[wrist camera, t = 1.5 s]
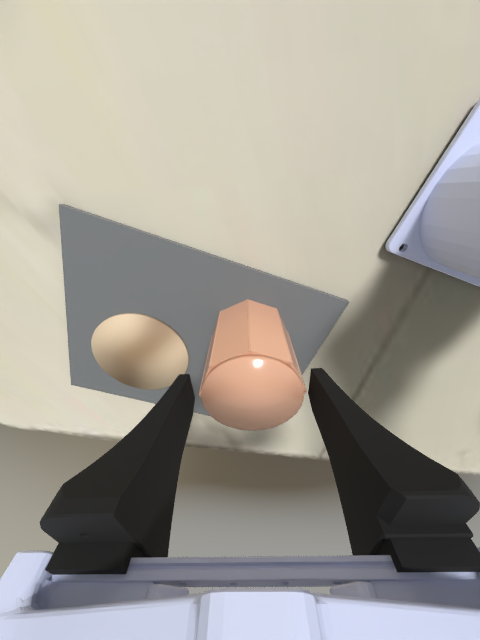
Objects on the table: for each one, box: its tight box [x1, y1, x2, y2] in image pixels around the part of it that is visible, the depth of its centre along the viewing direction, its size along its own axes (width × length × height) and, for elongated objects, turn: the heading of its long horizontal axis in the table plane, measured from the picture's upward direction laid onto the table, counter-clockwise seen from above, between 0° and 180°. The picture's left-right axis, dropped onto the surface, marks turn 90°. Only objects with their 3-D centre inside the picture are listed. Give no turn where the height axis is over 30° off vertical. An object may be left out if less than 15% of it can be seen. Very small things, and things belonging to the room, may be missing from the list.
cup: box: [199, 299, 306, 430], centre depth 15 cm, size 6×6×6 cm
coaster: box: [91, 313, 189, 390], centre depth 19 cm, size 8×8×1 cm
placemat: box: [59, 204, 349, 416], centre depth 19 cm, size 20×16×1 cm
